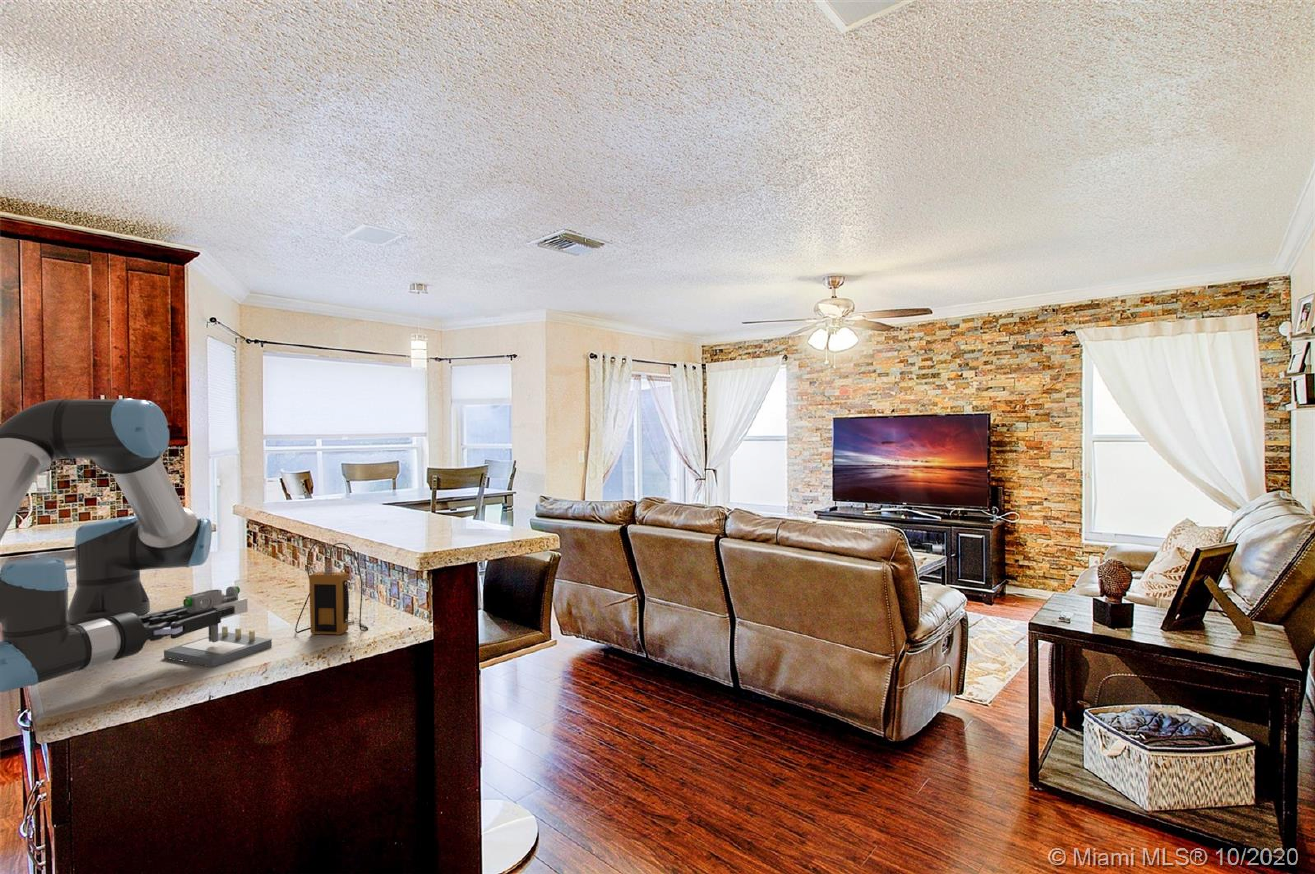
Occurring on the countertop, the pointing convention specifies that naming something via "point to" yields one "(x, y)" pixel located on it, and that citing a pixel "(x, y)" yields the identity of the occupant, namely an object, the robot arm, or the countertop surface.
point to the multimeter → (329, 600)
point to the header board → (219, 648)
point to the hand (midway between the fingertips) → (239, 603)
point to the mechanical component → (210, 604)
